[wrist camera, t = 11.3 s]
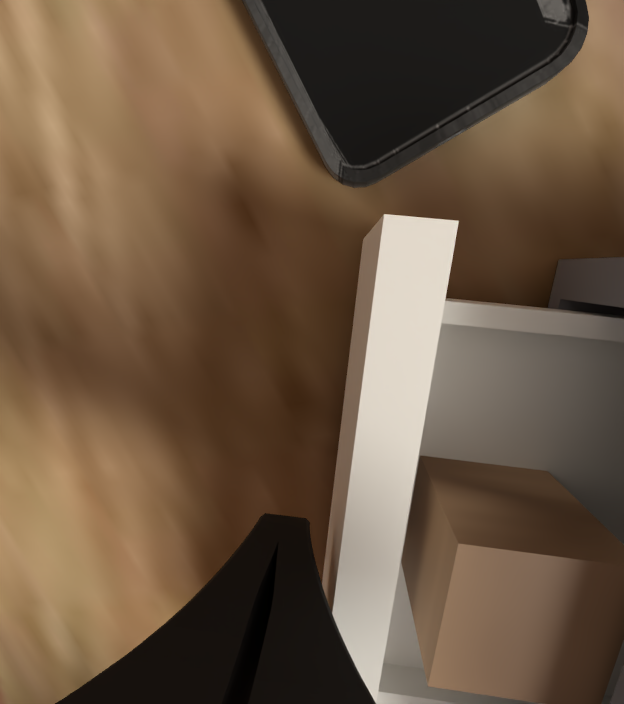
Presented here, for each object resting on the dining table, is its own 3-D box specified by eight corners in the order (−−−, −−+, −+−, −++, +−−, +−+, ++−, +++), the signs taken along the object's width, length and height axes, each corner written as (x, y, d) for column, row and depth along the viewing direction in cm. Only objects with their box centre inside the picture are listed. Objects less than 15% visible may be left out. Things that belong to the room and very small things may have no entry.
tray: (310, 680, 15) (295, 898, 10) (363, 238, 11) (383, 214, 6) (725, 741, 14) (947, 1012, 9) (927, 291, 11) (1496, 314, 5)
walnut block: (401, 561, 13) (428, 686, 9) (419, 455, 12) (458, 543, 8) (519, 577, 13) (598, 711, 9) (547, 470, 12) (648, 568, 8)
